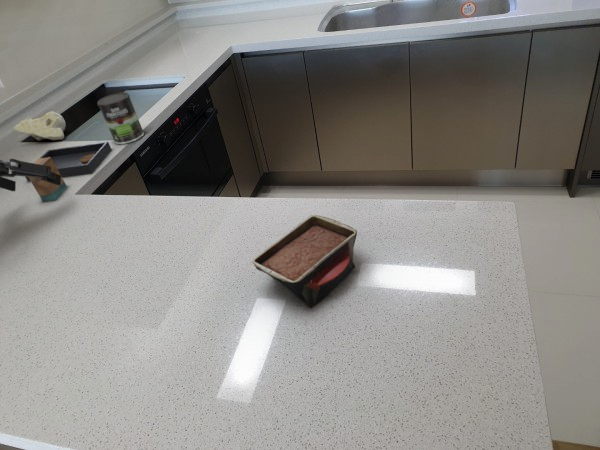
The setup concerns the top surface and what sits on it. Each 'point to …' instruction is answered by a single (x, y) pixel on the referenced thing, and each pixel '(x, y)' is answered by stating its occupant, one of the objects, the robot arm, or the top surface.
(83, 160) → the grease smear
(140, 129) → the coffee can
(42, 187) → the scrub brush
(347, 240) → the baking dish
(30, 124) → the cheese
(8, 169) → the robot arm
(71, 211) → the top surface
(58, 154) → the pan
